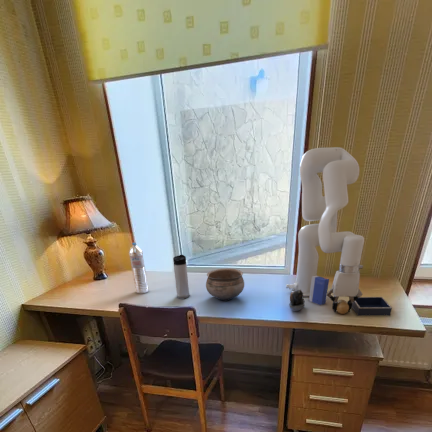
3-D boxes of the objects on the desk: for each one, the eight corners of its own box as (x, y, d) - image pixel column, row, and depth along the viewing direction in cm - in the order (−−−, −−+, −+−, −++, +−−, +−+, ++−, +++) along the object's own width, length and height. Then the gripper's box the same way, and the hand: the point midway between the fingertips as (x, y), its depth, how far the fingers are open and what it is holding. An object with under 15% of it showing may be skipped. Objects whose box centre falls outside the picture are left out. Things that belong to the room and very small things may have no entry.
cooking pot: (235, 309, 154) (235, 283, 147) (198, 305, 160) (196, 280, 153) (250, 291, 173) (250, 267, 166) (216, 288, 179) (215, 265, 172)
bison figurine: (288, 303, 156) (290, 282, 150) (303, 304, 155) (306, 282, 149) (288, 313, 146) (290, 291, 141) (305, 314, 145) (307, 291, 140)
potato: (337, 315, 141) (339, 304, 139) (333, 308, 148) (335, 298, 145) (349, 315, 141) (351, 304, 138) (344, 308, 147) (346, 297, 145)
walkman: (325, 304, 154) (329, 278, 147) (321, 305, 153) (324, 279, 146) (313, 299, 160) (316, 274, 153) (308, 300, 159) (311, 275, 152)
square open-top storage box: (357, 316, 141) (359, 307, 139) (350, 305, 152) (351, 297, 150) (389, 316, 140) (392, 307, 138) (380, 304, 151) (382, 296, 149)
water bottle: (151, 290, 181) (143, 241, 166) (144, 294, 176) (135, 244, 161) (141, 289, 183) (132, 241, 169) (133, 293, 178) (124, 244, 164)
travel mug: (191, 294, 172) (188, 254, 161) (186, 299, 167) (182, 258, 156) (180, 293, 174) (176, 254, 163) (175, 298, 169) (170, 257, 158)
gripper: (367, 265, 136) (359, 307, 146) (325, 266, 138) (319, 307, 148) (373, 270, 130) (363, 314, 140) (329, 271, 132) (322, 314, 142)
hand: (341, 310), depth 144 cm, fingers closed on potato, 5 cm apart
